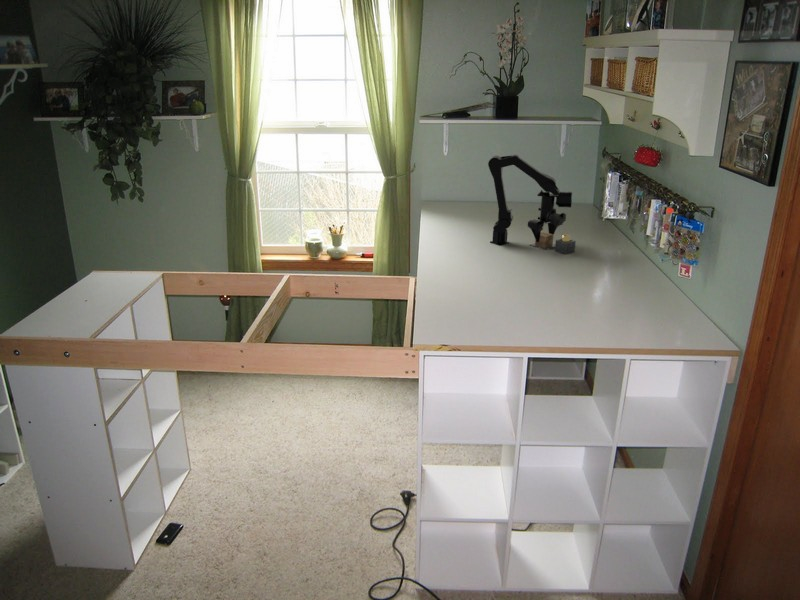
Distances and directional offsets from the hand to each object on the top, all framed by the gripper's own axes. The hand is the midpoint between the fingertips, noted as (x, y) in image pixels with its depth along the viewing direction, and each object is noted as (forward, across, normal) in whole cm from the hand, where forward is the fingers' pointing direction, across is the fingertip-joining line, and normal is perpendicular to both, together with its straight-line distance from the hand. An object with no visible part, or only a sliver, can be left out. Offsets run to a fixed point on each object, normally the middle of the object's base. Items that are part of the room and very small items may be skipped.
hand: (544, 240), depth 292 cm
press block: (+3, 0, -12) cm, 12 cm away
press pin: (0, 0, -11) cm, 11 cm away
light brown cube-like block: (+2, 0, 0) cm, 2 cm away
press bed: (+3, 0, 0) cm, 3 cm away
